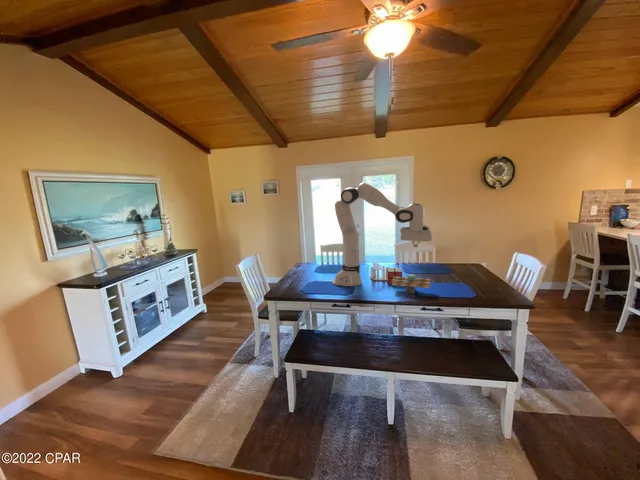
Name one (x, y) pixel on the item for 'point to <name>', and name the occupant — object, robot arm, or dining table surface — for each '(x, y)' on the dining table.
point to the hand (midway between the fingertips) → (415, 247)
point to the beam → (411, 283)
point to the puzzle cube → (393, 274)
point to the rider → (411, 277)
